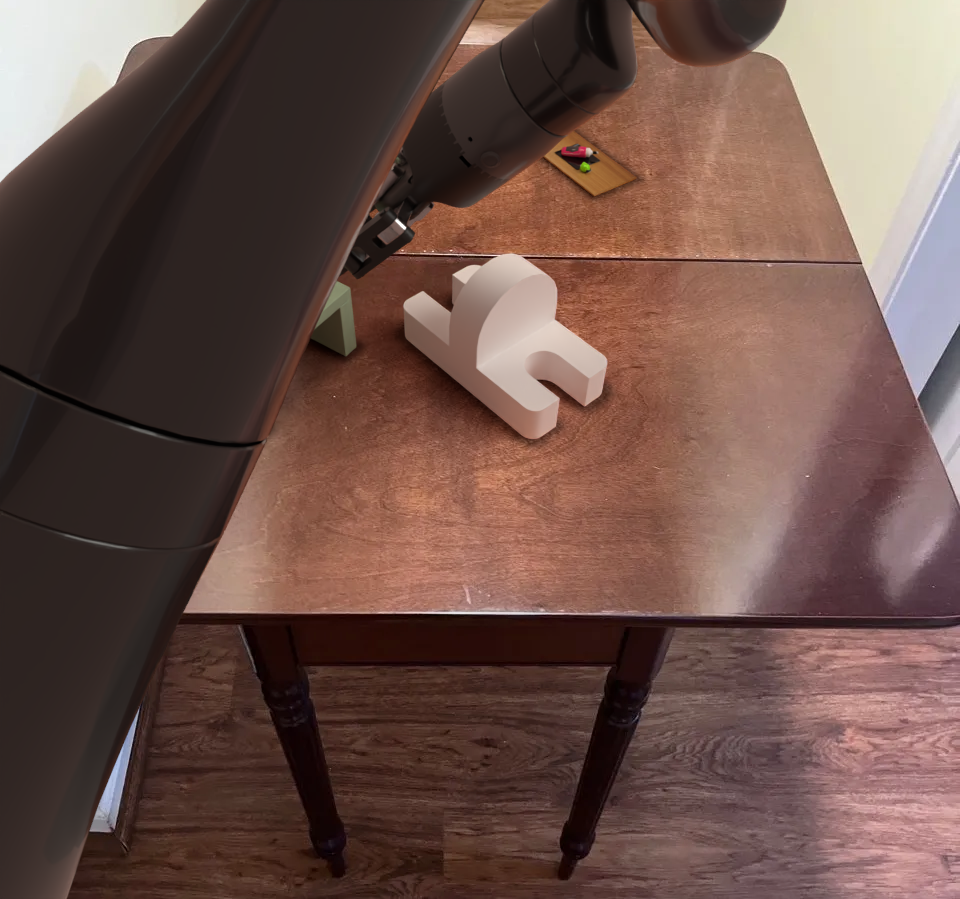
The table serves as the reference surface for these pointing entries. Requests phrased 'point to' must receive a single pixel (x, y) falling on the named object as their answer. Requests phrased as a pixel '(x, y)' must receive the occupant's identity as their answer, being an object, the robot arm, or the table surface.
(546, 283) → the white slotted holder
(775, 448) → the table surface
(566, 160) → the board
